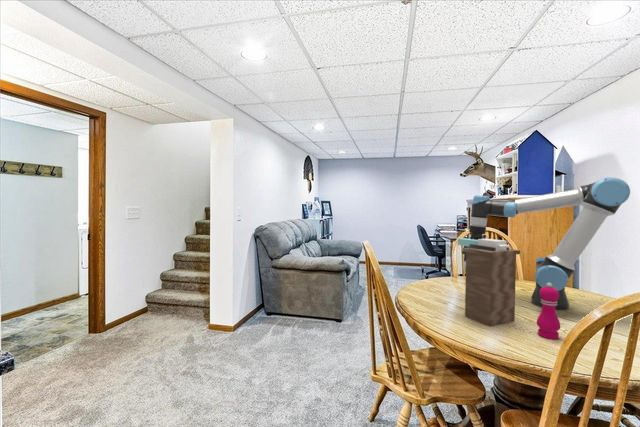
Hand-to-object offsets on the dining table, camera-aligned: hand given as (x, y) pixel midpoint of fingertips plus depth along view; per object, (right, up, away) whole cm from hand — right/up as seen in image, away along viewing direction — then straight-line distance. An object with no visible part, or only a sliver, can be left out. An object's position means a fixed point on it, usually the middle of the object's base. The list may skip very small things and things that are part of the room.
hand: (473, 266), depth 163 cm
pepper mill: (+6, -19, -45) cm, 49 cm away
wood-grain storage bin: (-6, -18, -27) cm, 33 cm away
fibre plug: (-8, +12, -24) cm, 28 cm away
